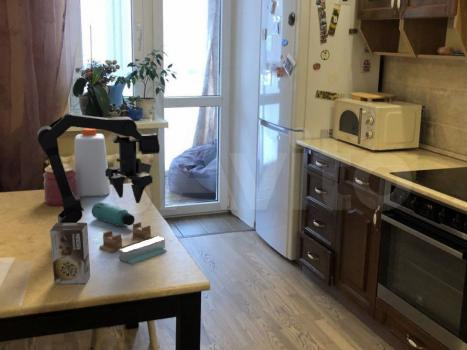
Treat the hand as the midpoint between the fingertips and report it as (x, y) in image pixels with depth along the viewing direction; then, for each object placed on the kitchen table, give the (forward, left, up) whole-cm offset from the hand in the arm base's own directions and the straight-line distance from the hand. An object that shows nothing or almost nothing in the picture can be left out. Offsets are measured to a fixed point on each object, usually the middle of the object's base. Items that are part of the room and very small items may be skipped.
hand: (129, 200), depth 191 cm
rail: (-8, -16, -12) cm, 21 cm away
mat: (-8, -16, -13) cm, 22 cm away
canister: (+5, +52, -13) cm, 54 cm away
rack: (-5, -5, -13) cm, 15 cm away
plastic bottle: (+22, +55, -13) cm, 61 cm away
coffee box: (-33, -16, -13) cm, 39 cm away
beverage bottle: (+3, +26, -10) cm, 28 cm away
